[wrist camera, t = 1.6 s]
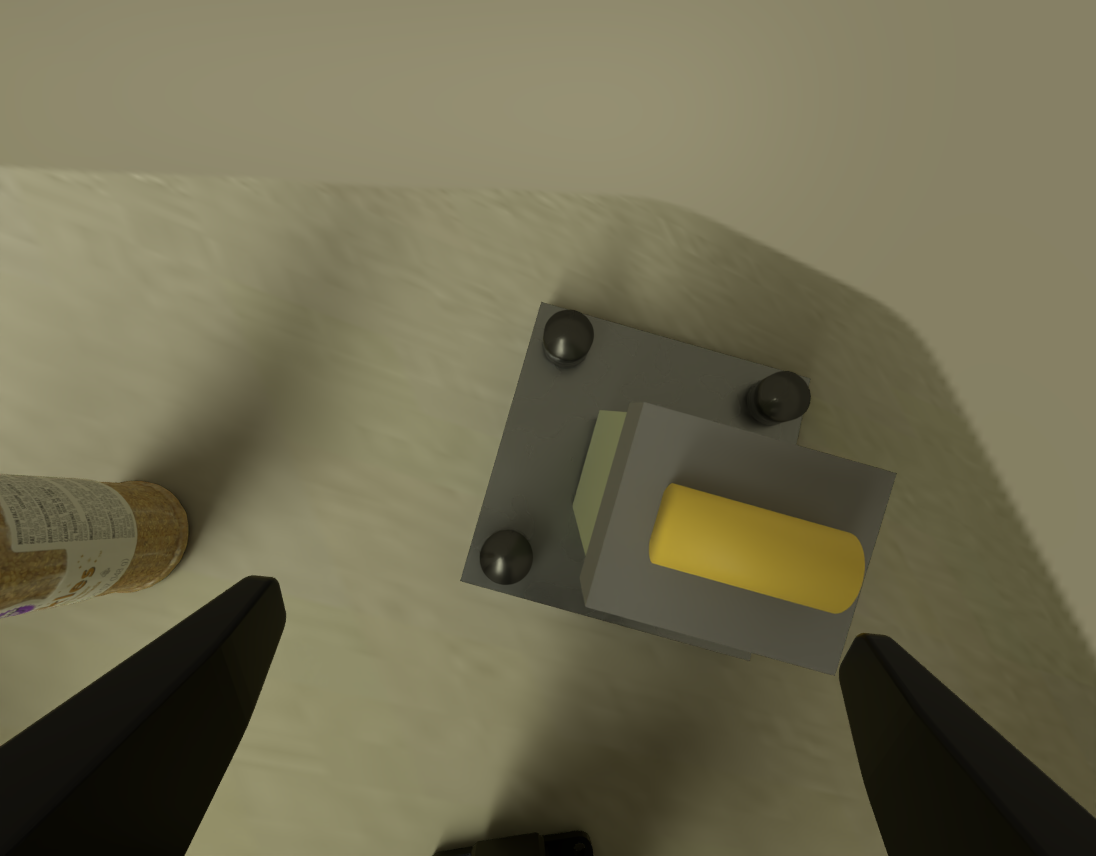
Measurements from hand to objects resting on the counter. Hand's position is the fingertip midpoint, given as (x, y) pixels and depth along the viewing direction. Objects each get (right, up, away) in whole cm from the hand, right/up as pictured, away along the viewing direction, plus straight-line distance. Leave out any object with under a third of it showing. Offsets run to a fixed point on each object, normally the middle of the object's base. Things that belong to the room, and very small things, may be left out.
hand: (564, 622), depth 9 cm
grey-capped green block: (+4, +1, +14) cm, 14 cm away
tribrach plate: (+4, +1, +16) cm, 16 cm away
